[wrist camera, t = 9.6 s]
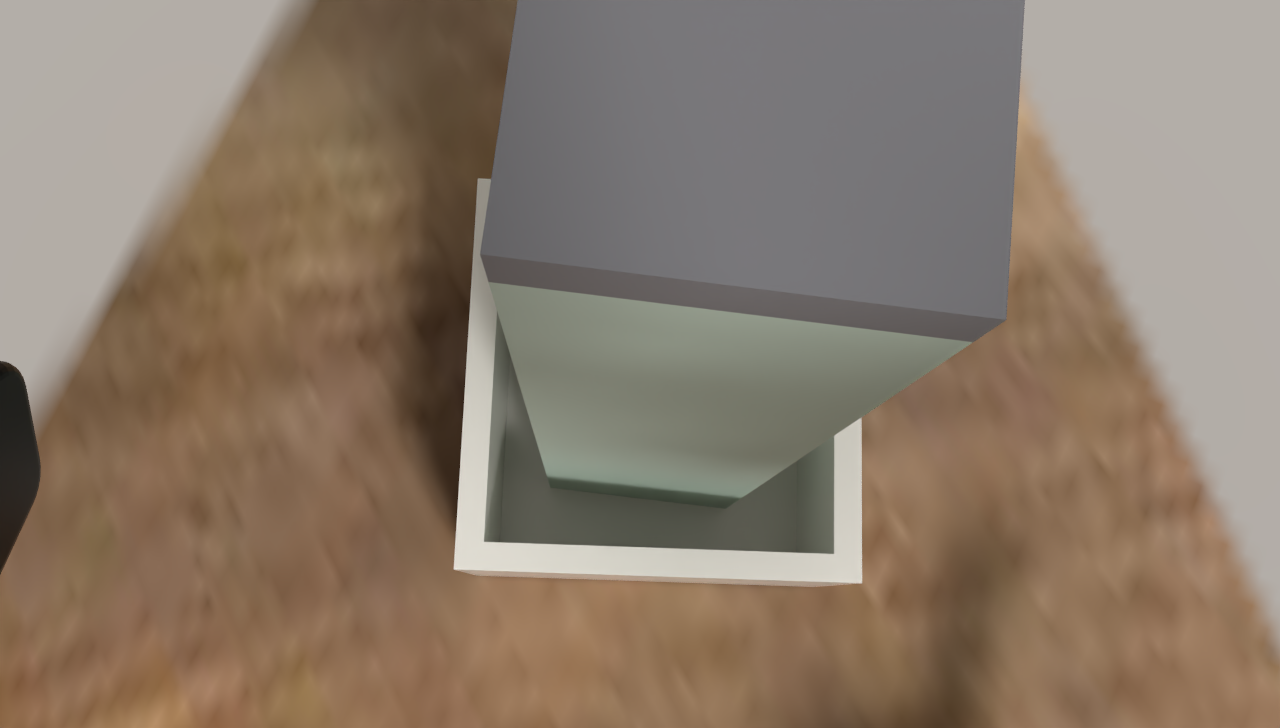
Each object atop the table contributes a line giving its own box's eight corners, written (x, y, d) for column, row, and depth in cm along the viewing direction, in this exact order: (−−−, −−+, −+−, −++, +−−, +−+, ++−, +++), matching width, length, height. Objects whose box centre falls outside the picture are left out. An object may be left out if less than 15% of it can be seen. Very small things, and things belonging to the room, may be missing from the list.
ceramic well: (812, 587, 21) (862, 583, 17) (477, 575, 21) (454, 569, 17) (813, 264, 22) (860, 195, 18) (496, 250, 22) (477, 178, 18)
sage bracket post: (725, 509, 21) (1006, 319, 7) (550, 487, 21) (479, 255, 7) (743, 337, 21) (1034, -151, 7) (572, 317, 21) (548, -216, 7)
